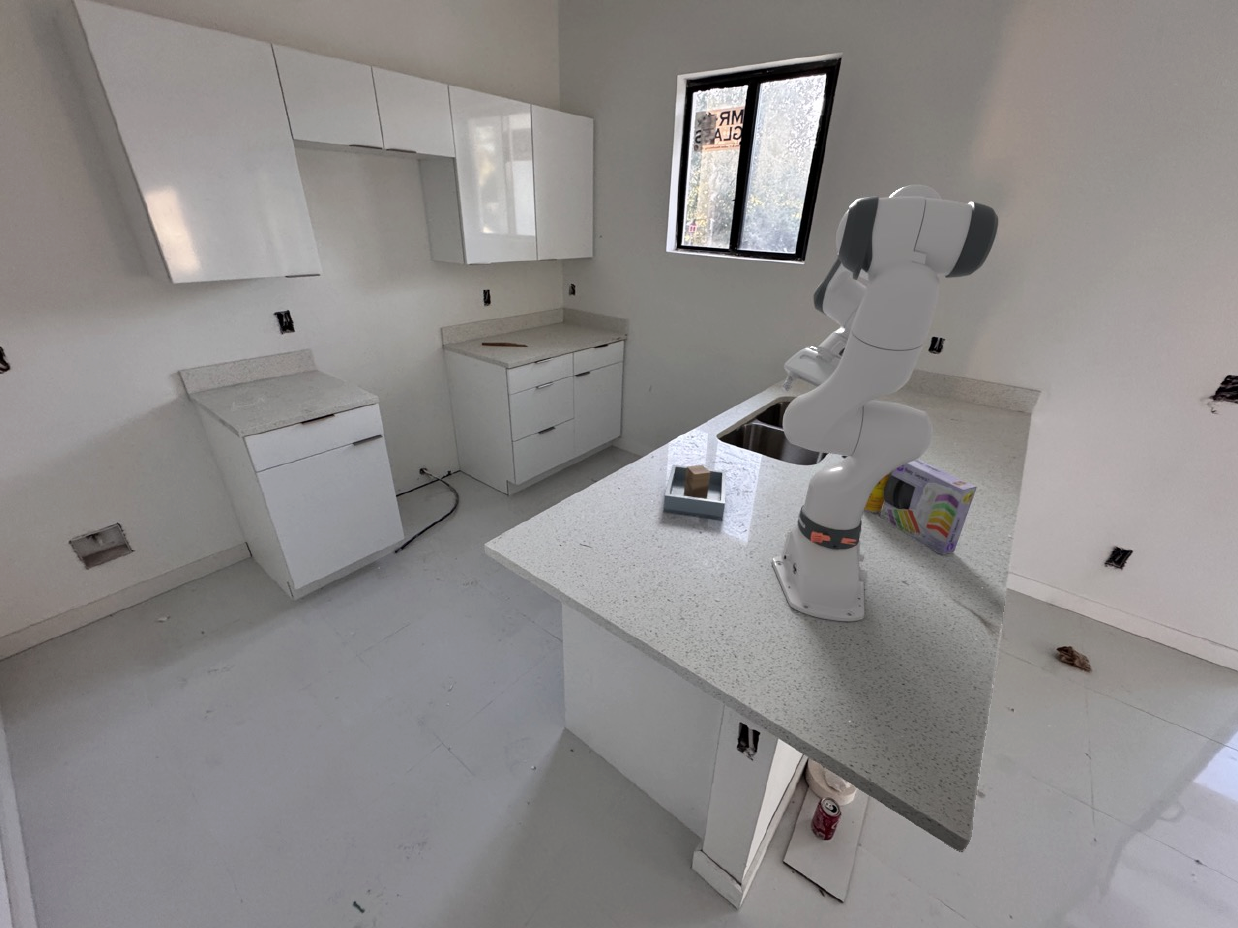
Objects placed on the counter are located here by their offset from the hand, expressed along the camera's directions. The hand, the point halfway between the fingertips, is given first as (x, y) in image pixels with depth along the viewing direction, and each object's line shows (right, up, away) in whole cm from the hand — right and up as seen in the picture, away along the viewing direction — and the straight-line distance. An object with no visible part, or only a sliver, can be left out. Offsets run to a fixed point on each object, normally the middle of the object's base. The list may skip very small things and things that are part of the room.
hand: (795, 394), depth 126 cm
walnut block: (-24, -26, +8) cm, 36 cm away
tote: (-24, -27, +8) cm, 37 cm away
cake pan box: (+28, -35, -2) cm, 45 cm away
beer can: (+23, -30, +8) cm, 38 cm away
